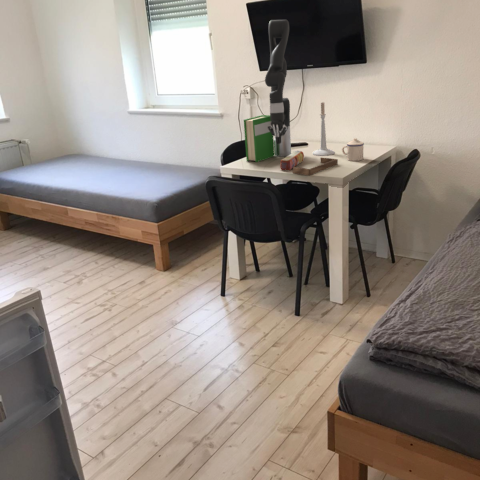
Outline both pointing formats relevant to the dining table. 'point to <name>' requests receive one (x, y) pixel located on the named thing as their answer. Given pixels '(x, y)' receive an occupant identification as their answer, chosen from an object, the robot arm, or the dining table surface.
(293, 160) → the snack package
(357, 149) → the teacup with lid
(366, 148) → the dining table surface
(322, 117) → the candlestick
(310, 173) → the walnut pocket
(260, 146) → the hardback book
